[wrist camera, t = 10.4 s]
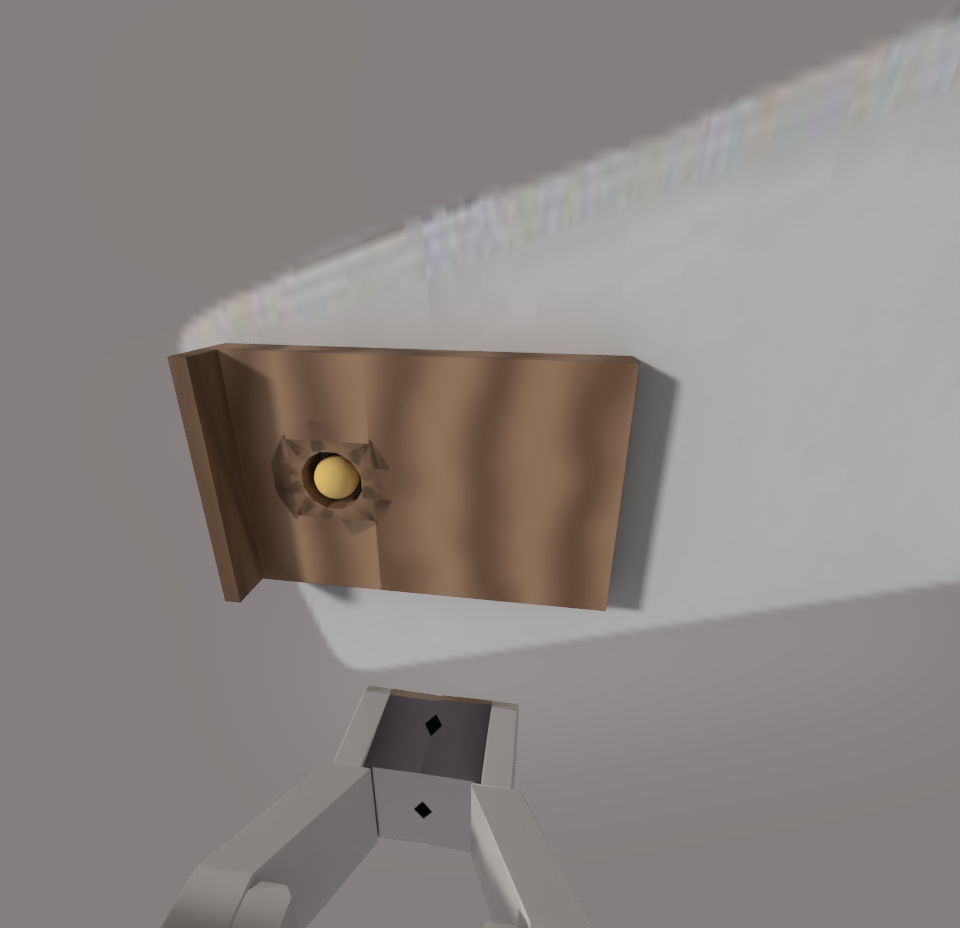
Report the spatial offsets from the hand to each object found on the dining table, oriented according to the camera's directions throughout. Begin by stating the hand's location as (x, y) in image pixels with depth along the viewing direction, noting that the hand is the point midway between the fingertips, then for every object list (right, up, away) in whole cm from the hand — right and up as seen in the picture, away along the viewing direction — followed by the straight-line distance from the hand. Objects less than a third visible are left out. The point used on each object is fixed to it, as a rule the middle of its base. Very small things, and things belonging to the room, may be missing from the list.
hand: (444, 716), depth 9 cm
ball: (-10, +4, +25) cm, 27 cm away
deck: (-4, +4, +26) cm, 27 cm away
